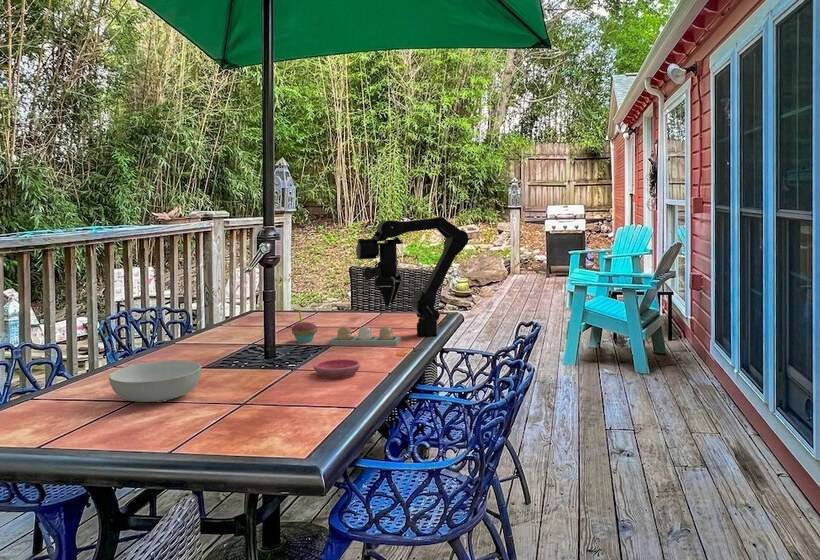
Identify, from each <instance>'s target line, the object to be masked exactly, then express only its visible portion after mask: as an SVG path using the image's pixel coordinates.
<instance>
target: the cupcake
mask: <svg viewBox="0 0 820 560" xmlns="http://www.w3.org/2000/svg"><path fill="white" fill-rule="evenodd" d="M298 315H299V322H298V323H296V324H295V325H293V326H292V327H291V329H290V330H291V334H292V335H293V336H294V338H295V339H296V342H297V343H298V344H307V343H312V342H313V340H314V337H315V334H316V333H318V326H317V325H316V324H315V323H312V322H308V321H305V322H304V321H303V318H302V317H303V316H302V311H301V309H300V307H298Z"/></svg>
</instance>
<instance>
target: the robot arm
mask: <svg viewBox="0 0 820 560" xmlns="http://www.w3.org/2000/svg"><path fill="white" fill-rule="evenodd" d="M376 228H377V229H376V231H375V232H374V234H373V236H372V237H371V238H366V239H365V238H357V244H356V249H355V253H356V254H355V255H356V258H357V260H375V259H376V258H377V257H378V256H379V261H378V262H377V266H375V267H372V268H371V266H367V267H365V268H364V270H363V271H362V277H364V279H365V281H366V282H367V281H369V280H372V279H374V278H375V277H376V278H375V279H374V287H375V288H376V289H377V290H379V291H380V292H381V295H382V299H383V303H384V306H385V307H386V308H388V307H390V305H391V303H392V304H394V303H395V300H396V298H397V295H398V292H399V289H400V287H401V284H402V281H403V274H402V273H401V272H400V271H398V264H399V260H398V256H397V255H398V253H397V245H403V243H404V242H403V241H402V240H400V238H399V237H398V236H401V235H403V234H406V233H413V232H420V231H427V230H437V231H438V232H439V233H440V234H441V236H442V237H444V238H445V239H444V243H443V249H442V254H441V255H440V257H439V258H438V260H437V263H436V265H435V267H434V268H433V271H432V272H431V273H430V274H431V275H430V276H429V278H428V279H427V282H426V284H425V286H424V287H423V289H421V290H418V289H417V290H415V292H414V295H413V297H411V299H410V301H411V304H410V307H411V310H412V312H414V313H415V314H416V317H417V318H418V321H417V323H416V336H417V337H419V338H437V337H438V335H439V331H438V329H439V328H438V325H439V322H438V321H439V320H440V315H441V313H440V312H438V310H436V308H434V307H435V304H436V301H437V292H438V291H439V290H440V288H441V285H442V284H443V282H444V280H445V278H446V275H447V274H448V272H449V269H450V268H451V265H452V264H453V262H454V260H455V258H456V257H457V256H458V254H460V253H461V252H462V251H463V250H464V248H466V246H467V244H468V243H469V239H470V238H469V235H468V233H467V232H466V231H465V230H462V229H459V228H458V227H457V226H456V225H454V224H453V223H451V222H450V221H449V220H447V219H446V218H445V217H444V216H435V217H431V218H423V219H422V218H421V219H412V220H407V221H406V220H405V221H402V220H392V219H391V220H386V219H385V220H381V221H379V223H378V224H377V226H376ZM388 238H389V239H388Z"/></svg>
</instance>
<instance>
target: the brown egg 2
mask: <svg viewBox="0 0 820 560" xmlns="http://www.w3.org/2000/svg"><path fill="white" fill-rule="evenodd" d="M378 332H379V333H378V334H379V335H378V336H379V338H380V340H393V336H394V331H393V329H392V328H391V327H390V326H387V325H385V326H383V327H381V328H380V329H379V331H378Z"/></svg>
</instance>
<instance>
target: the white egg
mask: <svg viewBox="0 0 820 560" xmlns="http://www.w3.org/2000/svg"><path fill="white" fill-rule="evenodd" d="M357 332H358V334H357V336H358V340H372V336H373V335H372V334H373V332H372V329H371V328H370V327H369V326H367V325H366V326H365V325H364V326H361V327H360V328H359V329H358V331H357Z"/></svg>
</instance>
